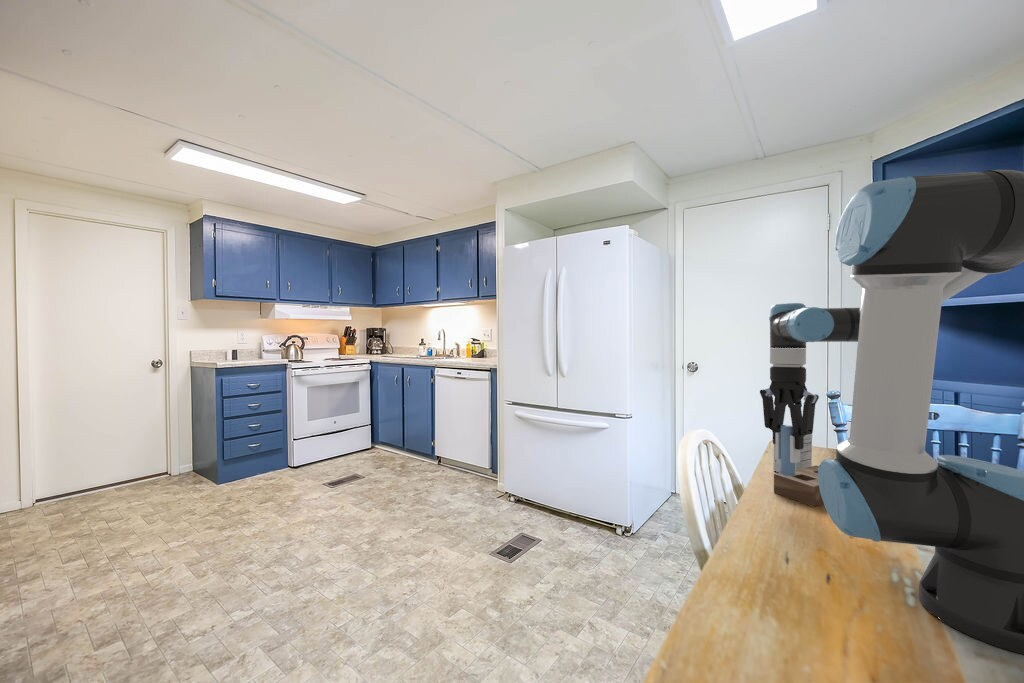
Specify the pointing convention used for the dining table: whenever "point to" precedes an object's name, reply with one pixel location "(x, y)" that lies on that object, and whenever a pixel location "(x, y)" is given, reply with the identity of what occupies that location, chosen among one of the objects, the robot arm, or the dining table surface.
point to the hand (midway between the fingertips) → (787, 459)
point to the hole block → (800, 486)
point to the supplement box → (804, 456)
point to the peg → (786, 451)
